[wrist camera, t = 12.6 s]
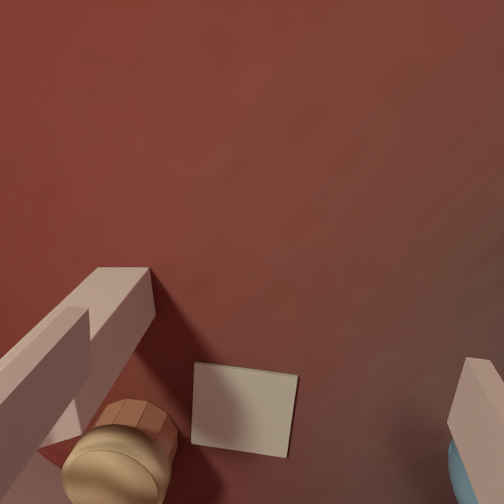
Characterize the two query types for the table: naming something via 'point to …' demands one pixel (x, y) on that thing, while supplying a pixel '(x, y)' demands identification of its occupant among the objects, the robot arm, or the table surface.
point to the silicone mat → (242, 408)
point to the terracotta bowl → (143, 422)
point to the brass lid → (116, 467)
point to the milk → (100, 337)
